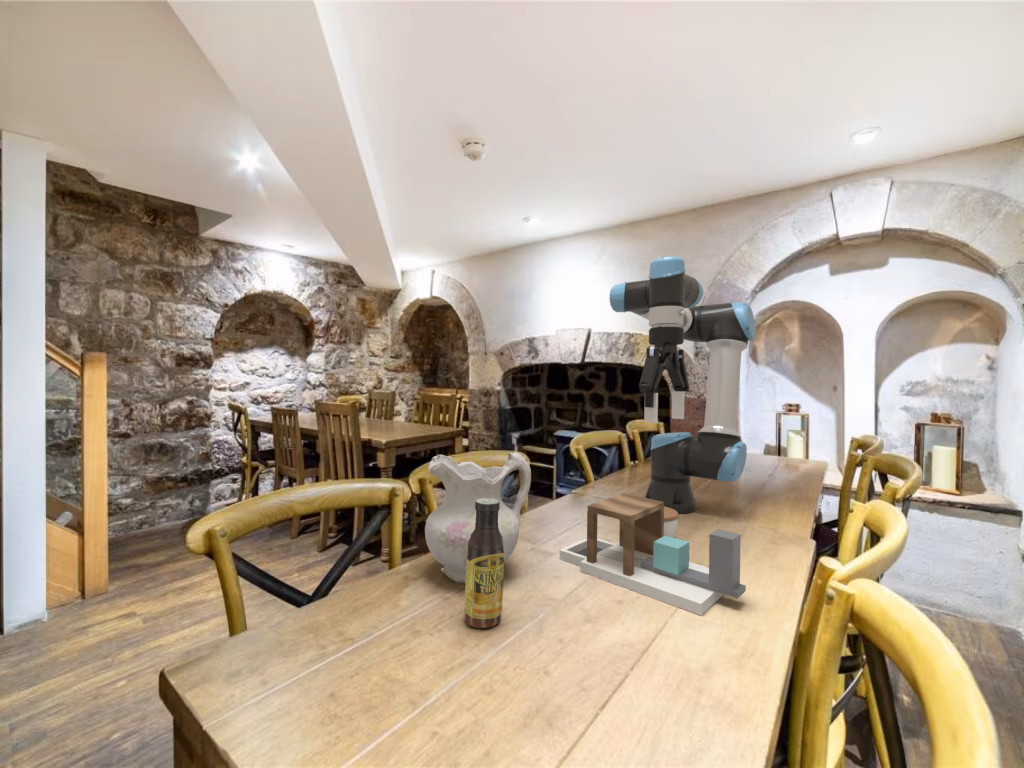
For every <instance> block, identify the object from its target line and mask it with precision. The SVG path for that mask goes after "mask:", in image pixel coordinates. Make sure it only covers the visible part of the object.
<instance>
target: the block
mask: <svg viewBox="0 0 1024 768" xmlns="http://www.w3.org/2000/svg"><path fill="white" fill-rule="evenodd" d="M689 562H690V541H689V540H684V539H683V540H682V539H679V538H677V537H673V538H672V537H669V536H664V537H662V538H660V539H658V540H656V541H654V548H653V567H654V568H657V569H660V570H664V571H667V572H670V573H673V574H676V575H679V574H680V573H682V572H683V571H685V570H686V569H687V568H689Z"/></svg>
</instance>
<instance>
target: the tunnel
mask: <svg viewBox="0 0 1024 768" xmlns="http://www.w3.org/2000/svg"><path fill="white" fill-rule="evenodd" d="M586 512H587V513H586V538H587V562H589V563H592V564H593V563H595V562H597V539H598V515H600V516H604V517H608V518H612V519H616V520H619V537H618V538H619V540H618V541H619V542H618V543H619V546H623V574H624V575H627V576H629V577H630V576H632V575H633V574H634V550H636V551H639V552H643V553H646V554H649V555H653V548H654V541H656V540H658V539H660V538H662V537H664V502H662V501H657V500H652V499H647V498H645V497H641V496H639V495H638V496H636V495H631V494H627V493H621V494H617V495H614V496H612V497H608V498H606V499H603V500H600V501H597V502H593V503H591V504H589V505H587V511H586Z"/></svg>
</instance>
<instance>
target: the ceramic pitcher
mask: <svg viewBox="0 0 1024 768" xmlns="http://www.w3.org/2000/svg"><path fill="white" fill-rule="evenodd" d="M506 455H507V456H508V458H507V460H506V462H505V463H504V465H502V467H501V466H495V465H494V466H490V467H484V468H483V467H482V466H480V465H479V464H477V463H476V462H474V461H461V462H458V463H457V462H456V460H455V459H454V458H453V457H451V456H449V455H444V454H437V455H435V456H433V457H432V458H431V461H429V463H428V466H427V467H428V469H427V470H428V473H429V474H431V475H433V476H436V477H437V478H438V479H439V480H440V481H441V482H442V484H443V486H444V488H445V496H444V500H443V501H442V503H441V504H440V505H439V506H438V507H436V508H435V509H434V510H433V511H432V512H431V513H430V514H429V515H428V516H427V518H426V521H425V526H424V538H425V542H426V546H427V547H428V550H429V552H430V553H431V555H432V556H433V559H435V560H436V561H437V562H438V563H439V564H441V565H442V566H443V567H446V568H444V569H442V570H443V572H442V573H443V574H444V575H446V577H448V579H451V580H452V581H453V582H456V583H459V584H464V585H466V562H467V555H468V541H469V539H470V537H471V534H472V532H473V531H474V530H475V523H476V509H475V502H476V500H477V499H481V498H493V499H497V500H499V502H500V504H499V505H500V509H499V511H498V528H499V531H500V533H501V535H502V538H503V547H504V563H505V562H506V561H507V560H508V559H509V557H510V556H511V555H512V553H513V552H514V551H515V548H516V547H517V544H518V540H519V535H520V526H521V510H522V508H523V506H525V503H526V501H527V498H528V494H529V491H530V488H531V483H532V482H531V481H532V475H531V474H532V470H531V467H530V466H531V465H530V463H528V461H527V460H526V459H525V454H522V452H521V451H518V450H516V451H510V452H509V453H507V454H506ZM516 470H519V472H520V480H521V484H520V488H519V490H518V492H517V495H516V497H515V501H514V504H513V507H512V508H510V507H508V506H507V505H506V504H505V503H504V502H503V500H502V497H501V489H502V487H503V481H504V480H505V478H506V477H507V476H508V475H509V474H510V473H512V472H513V471H516Z"/></svg>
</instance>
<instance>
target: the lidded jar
mask: <svg viewBox="0 0 1024 768" xmlns="http://www.w3.org/2000/svg"><path fill="white" fill-rule="evenodd" d="M678 519H679V513H678V512H677V511H676V510H674V509H672V508H669V507H665V506H664V536H669V537H672V538H675V535H676V533H677V530H678V523H679V522H678Z"/></svg>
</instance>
